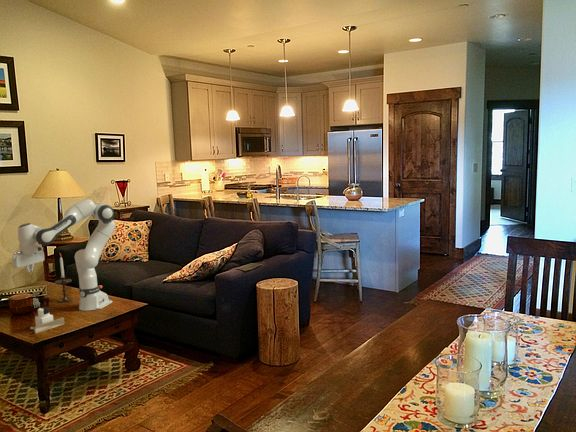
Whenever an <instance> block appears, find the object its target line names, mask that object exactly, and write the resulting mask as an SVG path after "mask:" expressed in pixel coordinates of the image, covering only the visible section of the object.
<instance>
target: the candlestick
mask: <svg viewBox="0 0 576 432" xmlns="http://www.w3.org/2000/svg"><path fill="white" fill-rule="evenodd" d="M59 256H60V258H59V265H60V275H61V276H60V277H59V278H60V279H57V280H54V284H55V285H62V289H61V292H62V295H63V297H61V298H59V299H57V302H58V303H60V304H61V303H68V302H72V301H73V298H72V297H71V296H70V297H67V296H66V295H67V293H66V291H67V289H66V286H65V285H66V284H69V283H71V282H72V279H71V278H66V276H65V269H64V260H63V257H62V254H61V253H60V252H59Z"/></svg>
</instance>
